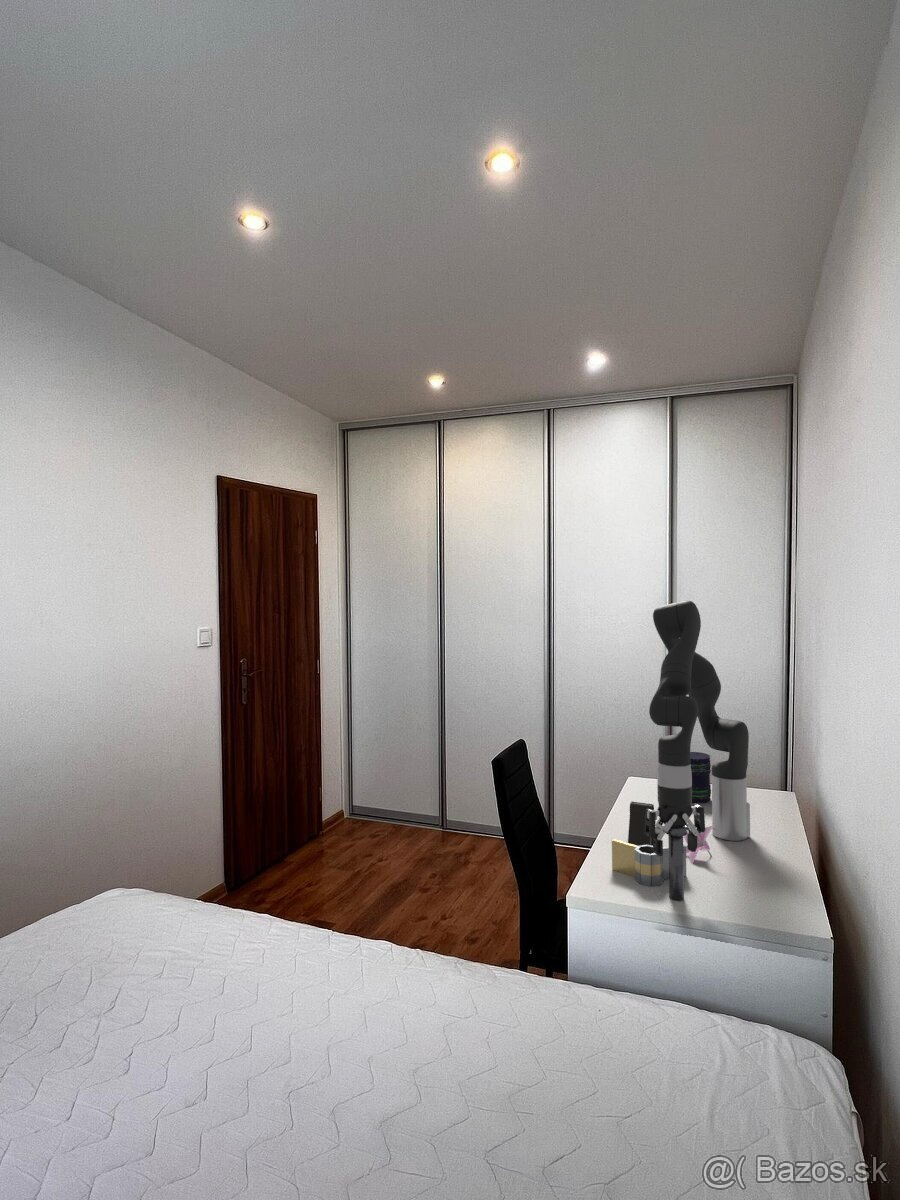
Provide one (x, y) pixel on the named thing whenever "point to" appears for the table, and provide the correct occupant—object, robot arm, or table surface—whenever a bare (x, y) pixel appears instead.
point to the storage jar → (700, 777)
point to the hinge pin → (676, 863)
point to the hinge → (642, 862)
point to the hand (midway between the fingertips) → (675, 852)
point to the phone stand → (638, 824)
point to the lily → (699, 843)
